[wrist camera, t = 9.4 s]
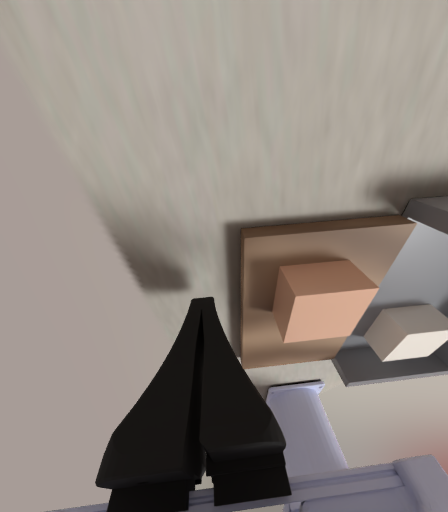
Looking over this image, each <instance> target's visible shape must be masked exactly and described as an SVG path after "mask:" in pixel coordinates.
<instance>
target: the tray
mask: <svg viewBox="0 0 448 512" xmlns="http://www.w3.org/2000/svg"><path fill="white" fill-rule="evenodd" d="M402 216H403V217H405V218H407V219H409V220H412V221H414V222H416V223H417V225H416V227H415V228H414V230H413V231H412V233H411V235H410V236H409V238H408V240H407V241H406V243H405V244H404V246H403V248H402V249H401V251H400V252H399V254H398V256H397V257H396V259H395V261H394V262H393V264H392V265H391V267H390V269H389V270H388V272H387V274H386V275H385V277H384V278H383V280H382V282H381V283H380V285H379V286H378V287H379V290H378V291H377V293H376V295H375V296H374V298H373V299H372V301H371V303H370V304H369V306H368V307H367V309H366V311H365V312H364V314H363V315H362V317H361V319H360V320H359V322H358V323H357V325H356V327H355V328H354V330H353V331H352V333H351V335H350V336H348V337H347V338H346V340H345V342H344V343H343V345H342V346H341V348H340V350H339V351H338V353H337V354H336V356H335V358H334V359H331V360H332V362H333V364H334V366H335V368H336V370H337V372H338V373H339V375H340V377H341V379H342V381H343V383H344V384H345V386H346V387H348V386H358V385H366V384H374V383H382V382H390V381H398V380H406V379H414V378H423V377H430V376H439V375H447V374H448V340H447V341H446V342H445V343H443V344H442V345H441V346H440V347H439V348H437V349H436V350H435V351H434V352H433V353H431V354H430V355H429V356H426V357H418V358H409V359H401V360H392V361H384V362H382V361H381V359H380V358H379V357H378V355H377V354H376V353H375V351H374V350H373V349H372V348H371V346H370V345H369V344H368V342H367V341H366V340H365V338H364V337H363V336H364V335H365V334H366V332H367V331H368V329H369V328H370V327H371V325H372V324H373V322H374V321H375V320H376V318H377V317H378V315H379V314H380V312H381V311H382V310H383V309H388V308H398V307H407V306H417V305H426V304H431V305H432V306H433V307H434V308H436V309H437V310H438V311H440V312H441V313H442V314H443V315H445V316H446V317H447V318H448V196H440V197H428V198H416V199H411V200H410V202H409V204H408V205H407V207H406V209H405V211H404V213H403V215H402Z"/></svg>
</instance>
